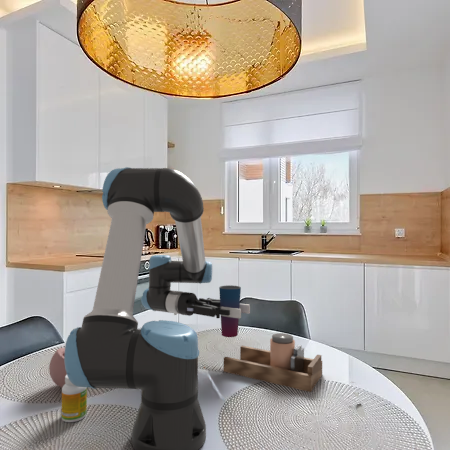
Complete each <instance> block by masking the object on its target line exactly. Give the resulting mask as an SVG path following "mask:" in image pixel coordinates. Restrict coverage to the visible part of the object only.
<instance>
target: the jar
mask: <svg viewBox="0 0 450 450" xmlns="http://www.w3.org/2000/svg"><path fill="white" fill-rule="evenodd" d="M269 342H270V345H269V347H270V348H269V351H270V366H272V367H277V368H282V369H287V370H291V357H292V356H293V355H294V348H295V347H296V341H295V339H294V336H293V335H292V334H289V333H283V332H282V333H281V332H280V333H279V332H278V333H274V334H272V336H271V338H270V341H269Z"/></svg>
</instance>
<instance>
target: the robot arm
mask: <svg viewBox="0 0 450 450" xmlns="http://www.w3.org/2000/svg"><path fill="white" fill-rule="evenodd" d="M101 191H102V196H101V200H102V203H103V207H104V208H105V210H106V211H107V215H108V216H109V217H110V219H111V221H110V226H109V230H108V236H107V239H106V246H105V250H104V255H103V260H102V265H101V269H100V273H99V278H98V283H97V288H96V292H95V297H94V302H93V307H92V309H91V311H90V312H89V313H87V314H86V315H84V317H83V318H82V323H81V326H80V327H79V326H77V327H76V328H73V329H72V330H71V331H70V333H69V335H68V336H67V339H66V341H65V347H64V348H65V356H64V361H65V369H66V372H67V376H68V378H69V380H70V381H71V383H72V384H74V385H75V386H78V387H87V389H88V388H90V389H93V390H96V389H119V390H120V389H126V390H127V389H128V390H140V393H141V394H140V395H141V397H140V398H141V399H140V405H139V409H138V412H137V414H136V416H135V420H134V423H133V427H132V432H131V445H132V448H133V450H199V449H201V448H202V446H203V445H204V444H205V442H206V438H207V424H206V421H205V418H204V415H203V411H202V408H201V406H200V405H201V404H200V401H199V399H198V398H199V396H198V395H199V357H200V350H199V339H198V334H197V332H196V331H195V329H194V328H192V327H191V326H189V325H187V324H184V323H182V322H178V321H173V320H163V319H162V320H161V319H160V320H151V321H147V322H145V323H144V324H142V327H141V328H140V329H139V328H138V327H139V321H138V320H137V319H136V317H135V316H134V315H133V313H134V305H135V301H136V292H137V287H138V280H139V273H140V267H141V261H142V255H143V253H142V252H143V248H144V242H145V236H146V235H145V234H146V228H147V225H148V224H149V223H151V222H152V221H153V219H154V216H155V213H164V212H165V213H169V216H170V218H172V220H173V221H174V223H175V227H176V233H177V238H178V239H177V240H178V242H179V248H180V255H181V260H182V261H181V260H172V258H171V255H166V254H159V255H158V254H156V255H151V256H150V257H149V263H148V264H149V265H148V266H149V267H148V288H146V289H144V291H143V292H142V296H141V305H142V306H143V308H144V309H146V310H150V311H153V312H162V313H169V314H173V315H174V316H177V315H182V316H188V317H190V316H193V315H199V316H205V317H211V318H215V317H216V319H221V316H226V317H233V318H239V319H241V318H242V314H248V315H249V314H250V313H251V306H250V305H251V304H250V303H249V304H247V303H246V304H245V303H240V308H239V309H237V308H230V307H221V309H220V298H219V299H217V298H215V299H214V298H210V297H208V298H207V297H206V299H205V298H202V297H200V298H198V297H197V295H196V294H195V293H194V292H189V291H179V290H171V286H172V284H173V283H179V284H181V283H182V284H183V283H184V284H200V285H201V284H209V283H211V282H212V280H213V263H212V261H207V260H206V253H205V244H204V234H203V225H202V216H203V214H204V211H205V210H204V209H205V208H204V201H203V197H202V195H201V193H200V191H199V189H198V188H197V186H196V185H195V183H193V181H192V180H191V179H190V178H189V177H187V175H185V174H184V173H183V172H181V171H179V170H177V169H174V168H170V167H169V168H168V167H162V168H157V167H155V168H153V167H150V168H149V167H146V168H144V167H143V168H142V167H137V168H135V167H127V166H126V167H123V168H122V167H121V168H120V167H119V168H114V169H112V170H111V171H109V172H108V173H107V175H106V177H105V178H104V182H103V185H102V190H101Z"/></svg>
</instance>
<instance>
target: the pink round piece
mask: <svg viewBox="0 0 450 450" xmlns="http://www.w3.org/2000/svg"><path fill="white" fill-rule="evenodd" d="M64 356H65V347H60V348H58V349H56V351H55V352H54V354H53V355H52V356H51V358H50V361H49V368H48V369H49V370H48V372H49V375H50V378H51V380H52V382H53V383H54V384H55V385H56V386H58V388H59V387H60V388H61V389H62V387H63V386H64V385H65V384H66V383H65V376H66V375H67V372H66V369H65V361H64Z"/></svg>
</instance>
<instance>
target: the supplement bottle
mask: <svg viewBox="0 0 450 450" xmlns="http://www.w3.org/2000/svg"><path fill="white" fill-rule="evenodd" d="M65 383H66V384H65V385H64V386H63V387H62V388H61V420H62V421H63V422H65V423H74V422H78V421H81V420H83V419H84V418H85V417H86V415H87V412H88V411H87V409H88V406H87V405H88V403H87V402H88V401H87V399H88V398H87V396H88V394H87V393H88V391H87V390H88V387H78V386H75V385H74V384H72V383H71V381H70V380H69V378H68V376H67V375H66V376H65Z"/></svg>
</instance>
